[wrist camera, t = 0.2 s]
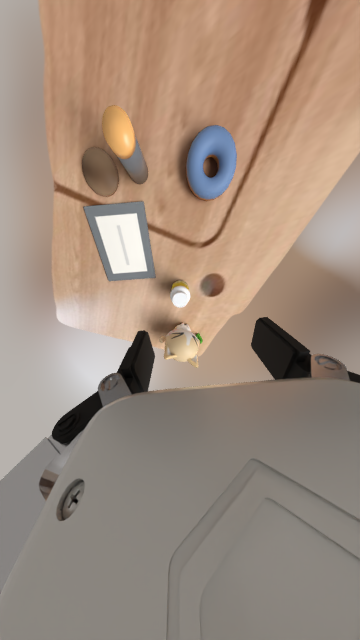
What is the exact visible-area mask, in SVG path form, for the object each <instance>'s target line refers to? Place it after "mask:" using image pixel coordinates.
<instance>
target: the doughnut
mask: <svg viewBox="0 0 360 640" xmlns="http://www.w3.org/2000/svg"><path fill="white" fill-rule="evenodd" d="M209 157H212V158H214V159H215V160H216V162H217V165H218V171H217V174H216V175H215V176H214V177H212V178H209V177H207V176H206V175H205V173H204V171H203V163H204V161H205V159H207V158H209ZM236 158H237V154H236V148H235V143H234V141H233V139H232V136H231V134H230V133H229V132H228V131H227V130H226V129H225V128H224V127H221V126H218V125H213V126H208V127H206V128H205V129H203V130H202V131H201V132H199V133H198V135H197V136H196V138H195V139H194V141H193V142H192V145H191V148H190V150H189V153H188V156H187V163H186V175H187V181H188V184H189V187H190V189H191V191H192V192H193V194H194V195H195V196H197V197H198V198H199V199H201V200H205V201H208V200H214V199H215V198H217V197H219V196H220V195H221V194H222V193H223V192H224V191H225V190H226V189H227V188H228V186H229V184H230V182H231V180H232V178H233V175H234V172H235V168H236Z"/></svg>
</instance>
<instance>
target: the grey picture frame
mask: <svg viewBox="0 0 360 640" xmlns="http://www.w3.org/2000/svg"><path fill="white" fill-rule="evenodd" d="M84 210H85V213H86V216H87V219H88V222H89V225H90V228H91V231H92V234H93V236H94V239H95V242H96V245H97V248H98V251H99V254H100V257H101V260H102V263H103V266H104V268H105V271H106V274H107V277H108V280H109V281H118V280H131V279H144V278H156V276H155V270H154V264H153V258H152V251H151V245H150V239H149V233H148V226H147V220H146V214H145V207H144V202H131V203H120V204H108V205H97V206H85V207H84Z"/></svg>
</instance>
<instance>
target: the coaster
mask: <svg viewBox="0 0 360 640" xmlns="http://www.w3.org/2000/svg"><path fill="white" fill-rule="evenodd" d="M82 168H83V173H84V176H85V179H86V181H87V183H88V184H89V186H90V187H91V188H92V189H93V190H94V191H95V192H96V193H98V194H100V195H102V196H111V195H113V194H114V193H115V191H116V190H117V187H118V182H119V178H118V172H117V168H116V166H115V164H114V162H113V160H112V159H111V157H110V156H109V155H108V154H107V153H106V152H105V151H104V150H102V149H100V148H97V147H92V148H90V149H88V150H87V151H86V152H85V154H84V156H83V160H82Z"/></svg>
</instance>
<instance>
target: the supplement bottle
mask: <svg viewBox="0 0 360 640" xmlns="http://www.w3.org/2000/svg"><path fill="white" fill-rule="evenodd" d="M170 298H171V301H172V302H173V304H174V305H175V306H176V307H184V306H185V305H186V304H187V303H188V301H189V299H190V292H189V288H188V285H187V283H186V282H184V281H182V280H178V281H176V282H174V283H173V285H172V287H171V293H170Z"/></svg>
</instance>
